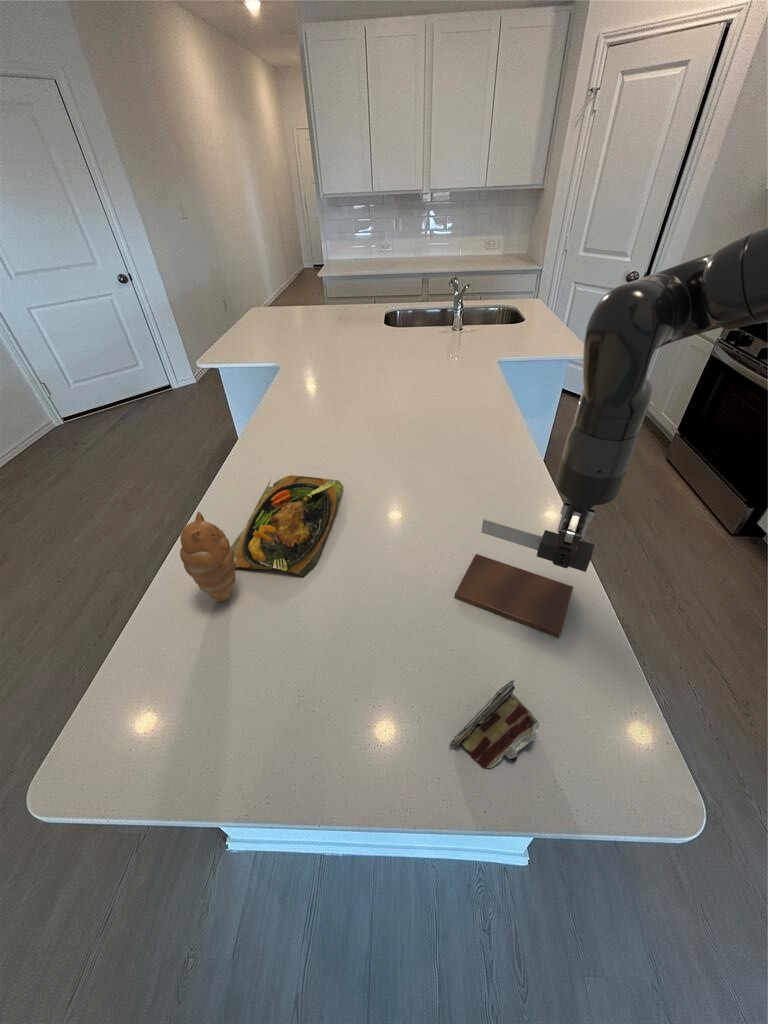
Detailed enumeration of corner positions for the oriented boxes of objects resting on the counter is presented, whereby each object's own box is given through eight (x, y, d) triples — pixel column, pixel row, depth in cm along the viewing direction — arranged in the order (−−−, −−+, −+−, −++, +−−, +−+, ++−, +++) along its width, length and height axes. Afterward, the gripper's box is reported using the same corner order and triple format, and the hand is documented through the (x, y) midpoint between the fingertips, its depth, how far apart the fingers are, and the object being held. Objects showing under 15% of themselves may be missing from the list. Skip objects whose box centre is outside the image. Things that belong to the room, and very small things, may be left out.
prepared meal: (310, 565, 79) (217, 553, 82) (312, 578, 82) (221, 567, 84) (346, 479, 101) (272, 472, 103) (347, 491, 103) (274, 484, 106)
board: (571, 590, 78) (573, 586, 77) (558, 638, 71) (560, 634, 70) (475, 557, 85) (475, 553, 84) (454, 597, 78) (454, 593, 77)
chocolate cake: (484, 795, 55) (554, 735, 52) (445, 746, 57) (510, 686, 54) (499, 763, 63) (559, 710, 60) (464, 721, 66) (521, 669, 63)
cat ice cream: (244, 612, 76) (216, 537, 65) (197, 619, 76) (161, 544, 64) (248, 575, 83) (223, 501, 71) (205, 580, 82) (173, 506, 71)
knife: (589, 558, 65) (594, 544, 63) (585, 572, 63) (591, 557, 61) (484, 526, 71) (486, 512, 69) (478, 537, 69) (480, 523, 67)
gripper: (621, 498, 48) (580, 599, 59) (634, 438, 57) (597, 535, 68) (550, 480, 51) (524, 580, 62) (574, 426, 60) (548, 521, 71)
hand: (563, 556), depth 65 cm, fingers closed on knife, 3 cm apart
